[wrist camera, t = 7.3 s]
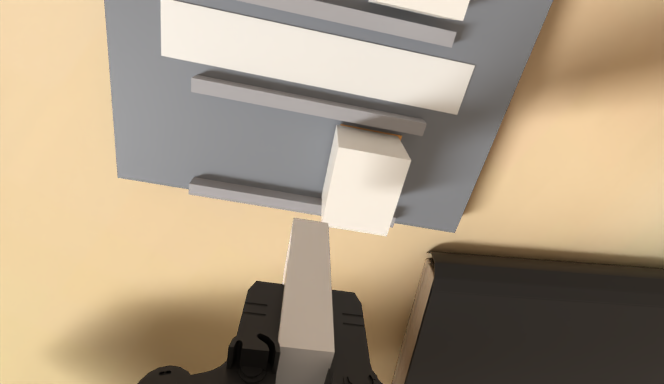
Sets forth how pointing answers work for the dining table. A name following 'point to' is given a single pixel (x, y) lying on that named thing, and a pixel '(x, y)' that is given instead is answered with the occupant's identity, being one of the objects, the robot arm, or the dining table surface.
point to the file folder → (533, 323)
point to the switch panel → (311, 94)
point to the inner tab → (363, 180)
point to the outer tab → (430, 7)
